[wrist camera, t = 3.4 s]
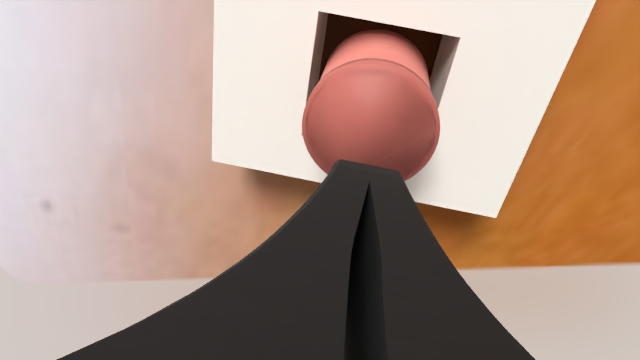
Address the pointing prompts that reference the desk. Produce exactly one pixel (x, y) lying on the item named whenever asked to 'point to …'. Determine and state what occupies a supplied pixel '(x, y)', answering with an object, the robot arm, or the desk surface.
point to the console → (445, 82)
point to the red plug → (373, 106)
